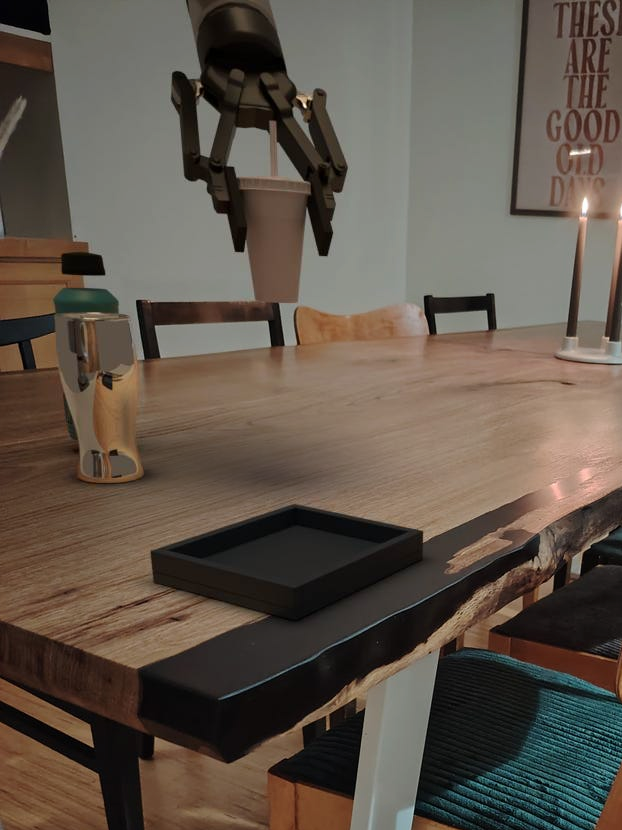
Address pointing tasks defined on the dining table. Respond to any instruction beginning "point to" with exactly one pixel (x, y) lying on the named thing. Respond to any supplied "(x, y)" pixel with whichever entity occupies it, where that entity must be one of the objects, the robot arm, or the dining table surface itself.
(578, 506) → the dining table surface
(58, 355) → the beer glass
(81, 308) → the beverage bottle
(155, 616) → the dining table surface
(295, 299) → the smoothie
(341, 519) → the tray
